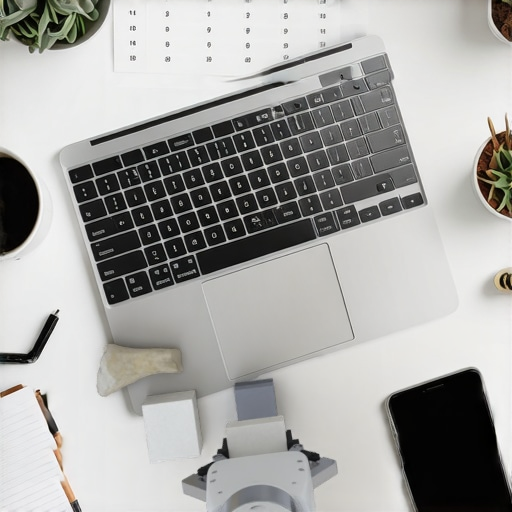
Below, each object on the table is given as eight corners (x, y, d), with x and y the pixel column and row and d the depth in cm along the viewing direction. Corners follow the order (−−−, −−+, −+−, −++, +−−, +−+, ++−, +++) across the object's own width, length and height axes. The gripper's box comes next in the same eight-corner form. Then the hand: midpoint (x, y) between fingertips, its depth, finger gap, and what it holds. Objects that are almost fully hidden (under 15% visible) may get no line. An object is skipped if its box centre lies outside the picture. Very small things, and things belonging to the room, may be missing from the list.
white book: (291, 481, 63) (292, 488, 61) (234, 488, 63) (234, 496, 61) (283, 415, 62) (284, 420, 60) (226, 422, 62) (225, 428, 60)
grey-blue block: (280, 436, 74) (281, 446, 71) (242, 441, 74) (242, 451, 71) (272, 378, 73) (273, 385, 70) (234, 383, 73) (234, 390, 70)
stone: (103, 393, 73) (93, 405, 69) (87, 348, 73) (76, 357, 68) (185, 366, 73) (180, 377, 68) (169, 321, 73) (164, 329, 68)
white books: (202, 445, 74) (200, 457, 71) (155, 451, 74) (150, 463, 71) (195, 389, 74) (192, 399, 70) (146, 396, 74) (141, 405, 70)
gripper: (162, 590, 46) (188, 487, 64) (370, 564, 46) (338, 468, 64) (150, 503, 46) (179, 423, 64) (360, 476, 46) (330, 404, 64)
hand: (258, 446), depth 64 cm, fingers closed on white book, 6 cm apart
